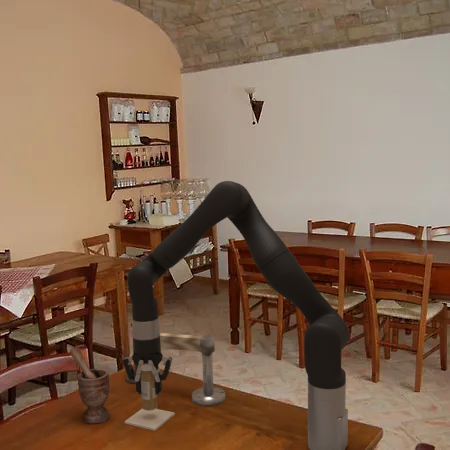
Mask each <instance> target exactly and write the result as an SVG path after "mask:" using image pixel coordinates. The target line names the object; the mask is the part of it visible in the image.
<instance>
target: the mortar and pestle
mask: <svg viewBox="0 0 450 450" xmlns="http://www.w3.org/2000/svg"><path fill="white" fill-rule="evenodd" d="M69 352H70V356H71V357H72V358H73V360H74V362H75V363H76V365H78V367H79V368H80V370H81V372H79V373H78V374H77V376H76V377H77V383H78V393H79V396H80V400H81V402H82V404H84V406H86V410H85V411H84V413H83V414H82V415H83V416H82V421H83V422H84V423H87V424H98V423H105V422H106V421H107V420H108V419H109V418H110V412H109V410H108V409H107V408H106V407H105V406H104V405H105V403H106V402H107V401H108V399H109V394H110V373H109V371H108V370H107V369H106V368H89V366H88V364H87V362H86V359H85V357H84V355H83V353H82V350H81V349H80V347H78V346H74V347H73V348H71V349H70V350H69Z"/></svg>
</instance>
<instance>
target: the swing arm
mask: <svg viewBox="0 0 450 450" xmlns="http://www.w3.org/2000/svg"><path fill="white" fill-rule="evenodd" d="M160 342H161V350H162V349H164V350H173V351H174V350H175V351H176V350H177V351H189V352H200V354H202V353H206V354H207V353H212V354H213V353H214V352H215V350H216V347H215V346H216V345H215V337H214V336H213V335H206V334H205V335H196V334H195V335H192V334H183V333H181V334H180V333H167V332H166V333H165V332H160Z"/></svg>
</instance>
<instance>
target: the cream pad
mask: <svg viewBox="0 0 450 450" xmlns="http://www.w3.org/2000/svg"><path fill="white" fill-rule="evenodd" d="M175 414H176V413H175V412H173V411H168V410H164V409H159V408H156V409H154V410H150V411H147V410H144V409H142V408H141V409H139V410H138V411H136V412H135V413H134V414H133V415H131V416H130V417H128V418H127V419H126V420H124V424H125V425H130V426H134V427H138V428H140V429H141V428H142V429H146V430H149V431H154V432H156V431H157V430H158V429H159V428H161V427H162V426H164V424H165V423H166V422H168V421H169V420H170V419H171V418H173V417H174V416H175Z"/></svg>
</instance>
